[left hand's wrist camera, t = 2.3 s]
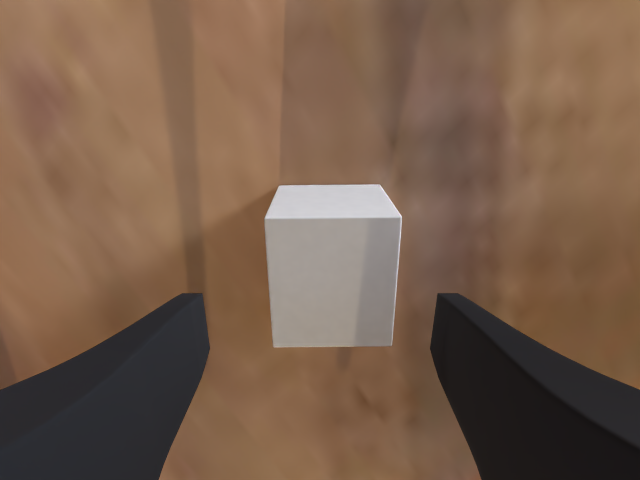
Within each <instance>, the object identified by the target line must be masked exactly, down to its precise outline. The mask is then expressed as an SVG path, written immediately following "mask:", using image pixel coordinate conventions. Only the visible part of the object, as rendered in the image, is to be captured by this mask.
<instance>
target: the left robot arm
mask: <svg viewBox="0 0 640 480" xmlns="http://www.w3.org/2000/svg"><path fill="white" fill-rule="evenodd" d="M209 350H210V346H209V338H208V331H207V324H206V316H205V309H204V302H203V295H202V293H182V294H180V295H178V296H177V297H175V298H173V299H171V300H170V301H168V302H167V303H165V304H163V305H162V306H160V307H159V308H157V309H156V310H154V311H153V312H151V313H149V314H148V315H146V316H145V317H143V318H142V319H140V320H139V321H137V322H135V323H134V324H132V325H131V326H129V327H127V328H126V329H124V330H122V331H121V332H119V333H117V334H115V335H114V336H112V337H110V338H109V339H107V340H105V341H104V342H102V343H100V344H98V345H97V346H95V347H93V348H91V349H89V350H88V351H86V352H84V353H82V354H80V355H78V356H76V357H74V358H72V359H70V360H68V361H66V362H64V363H62V364H60V365H58V366H55V367H53V368H51V369H49V370H47V371H44V372H42V373H40V374H37V375H35V376H33V377H30V378H28V379H26V380H23V381H21V382H18V383H16V384H14V385H11V386H9V387H7V388H4V389H2V390H0V480H159V477H160V474H161V471H162V468H163V465H164V462H165V460H166V457H167V455H168V452H169V450H170V447H171V445H172V443H173V441H174V438H175V436H176V434H177V432H178V430H179V427H180V425H181V423H182V421H183V418H184V416H185V414H186V412H187V410H188V407H189V405H190V403H191V401H192V398H193V396H194V394H195V391H196V389H197V387H198V385H199V382H200V380H201V377H202V374H203V371H204V368H205V364H206V361H207V357H208V353H209ZM430 350H431V353H432V357H433V361H434V364H435V368H436V371H437V374H438V377H439V380H440V382H441V385H442V387H443V389H444V391H445V394H446V396H447V398H448V401H449V403H450V405H451V407H452V409H453V412H454V414H455V416H456V418H457V421H458V423H459V425H460V427H461V429H462V432H463V434H464V436H465V438H466V441H467V443H468V445H469V447H470V450H471V452H472V455H473V457H474V460H475V462H476V465H477V468H478V471H479V474H480V477H481V480H640V390H639V389H636V388H634V387H631V386H629V385H627V384H624V383H622V382H619V381H617V380H614V379H612V378H609V377H607V376H605V375H603V374H600V373H598V372H596V371H594V370H591V369H589V368H587V367H585V366H583V365H581V364H579V363H577V362H575V361H573V360H571V359H569V358H566V357H564V356H562V355H560V354H559V353H557V352H555V351H553V350H551V349H549V348H547V347H546V346H544V345H542V344H540V343H538V342H537V341H535V340H533V339H531V338H530V337H528V336H526V335H524V334H523V333H521V332H519V331H518V330H516V329H514V328H513V327H511V326H510V325H508V324H506V323H505V322H503V321H502V320H500V319H499V318H497V317H495V316H494V315H492V314H491V313H489V312H488V311H486V310H485V309H483V308H481V307H480V306H478V305H477V304H475V303H474V302H472V301H470V300H469V299H467V298H465V297H464V296H462V295H460V294H458V293H438V295H437V302H436V309H435V317H434V324H433V331H432V338H431V346H430Z"/></svg>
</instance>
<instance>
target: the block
mask: <svg viewBox="0 0 640 480" xmlns="http://www.w3.org/2000/svg"><path fill="white" fill-rule="evenodd" d="M401 224H402V216H401V215H400V213H399V212H398V210H397V209H396V208H395V206H394V205H393V203H392V202H391V200H390V199H389V197H388V196H387V194H386V193H385V191H384V190H383V189H382V187H381V186H380V185H379V184H376V185H280V186H279V187H278V189H277V191H276V193H275V196H274V198H273V200H272V202H271V204H270V207H269V209H268V211H267V213H266V216H265V218H264V226H265V240H266V254H267V268H268V283H269V297H270V311H271V325H272V340H273V347H360V346H392V339H393V327H394V314H395V301H396V288H397V275H398V263H399V250H400V237H401Z"/></svg>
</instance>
